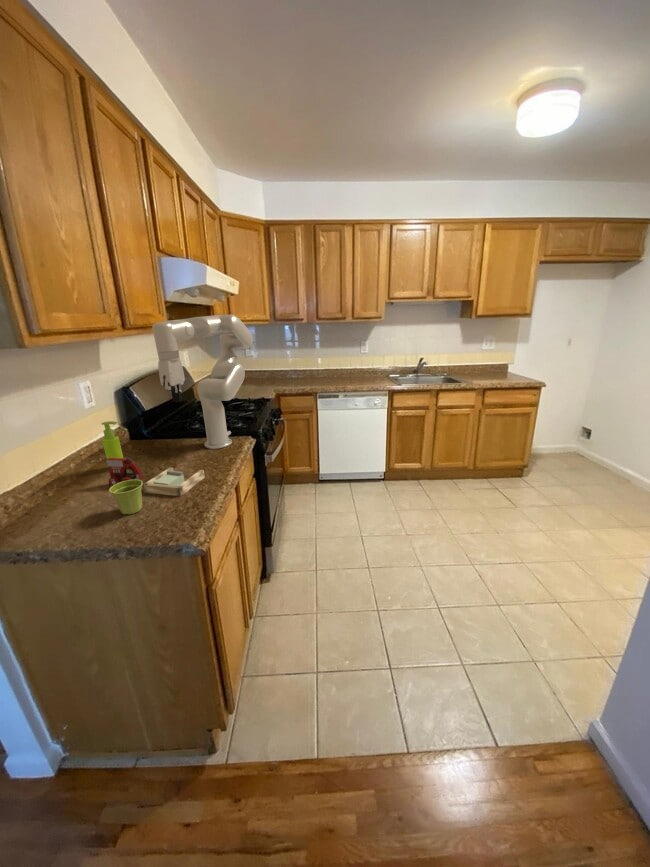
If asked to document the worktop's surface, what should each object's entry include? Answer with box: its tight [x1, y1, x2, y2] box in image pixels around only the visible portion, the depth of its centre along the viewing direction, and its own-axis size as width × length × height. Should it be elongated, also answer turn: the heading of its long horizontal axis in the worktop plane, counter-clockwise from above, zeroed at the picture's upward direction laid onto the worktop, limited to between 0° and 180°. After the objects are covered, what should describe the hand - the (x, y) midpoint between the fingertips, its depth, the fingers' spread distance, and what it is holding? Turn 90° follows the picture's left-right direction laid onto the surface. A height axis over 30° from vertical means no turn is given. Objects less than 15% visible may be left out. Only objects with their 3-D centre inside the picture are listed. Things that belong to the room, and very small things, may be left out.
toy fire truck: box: [105, 457, 144, 487], centre depth 131 cm, size 7×12×10 cm, turn 82°
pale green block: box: [153, 470, 186, 486], centre depth 129 cm, size 8×6×4 cm
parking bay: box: [142, 467, 206, 497], centre depth 130 cm, size 15×15×3 cm
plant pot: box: [108, 480, 144, 515], centre depth 113 cm, size 9×9×9 cm
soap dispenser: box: [101, 420, 124, 460], centre depth 144 cm, size 6×7×20 cm
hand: (177, 401), depth 143 cm, fingers closed
